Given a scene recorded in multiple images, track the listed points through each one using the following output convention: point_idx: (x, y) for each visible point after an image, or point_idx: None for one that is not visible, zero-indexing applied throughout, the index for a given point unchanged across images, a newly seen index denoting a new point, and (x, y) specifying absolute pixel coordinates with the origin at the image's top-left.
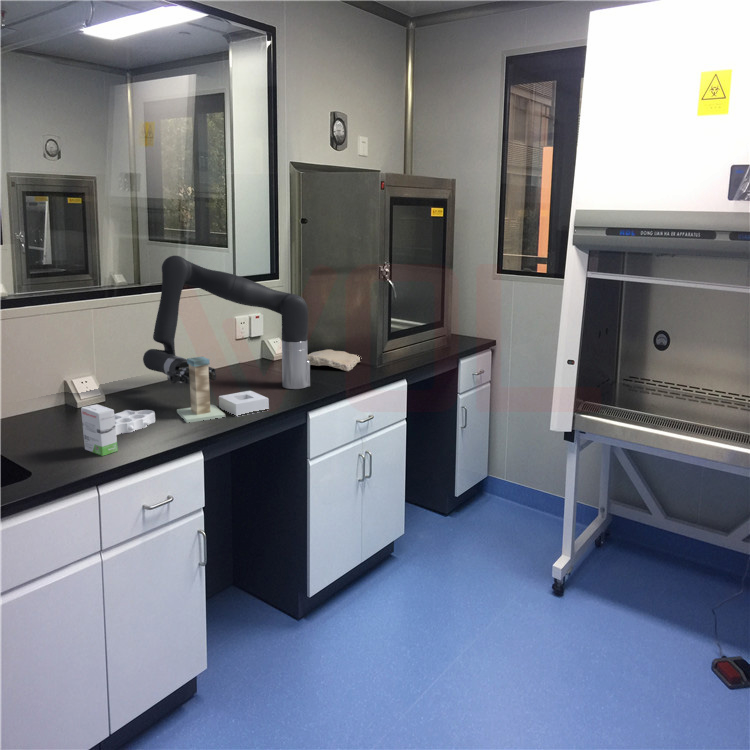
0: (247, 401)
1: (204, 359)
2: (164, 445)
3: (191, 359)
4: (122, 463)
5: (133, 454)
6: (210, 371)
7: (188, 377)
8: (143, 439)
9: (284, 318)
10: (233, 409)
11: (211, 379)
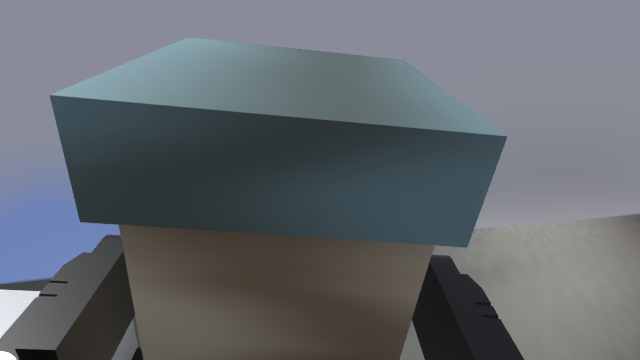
0: (30, 302)
1: (239, 48)
2: (504, 250)
3: (416, 88)
4: (595, 221)
5: (585, 245)
6: (34, 327)
7: (431, 256)
8: (594, 324)
9: None
10: (118, 353)
11: (125, 329)
